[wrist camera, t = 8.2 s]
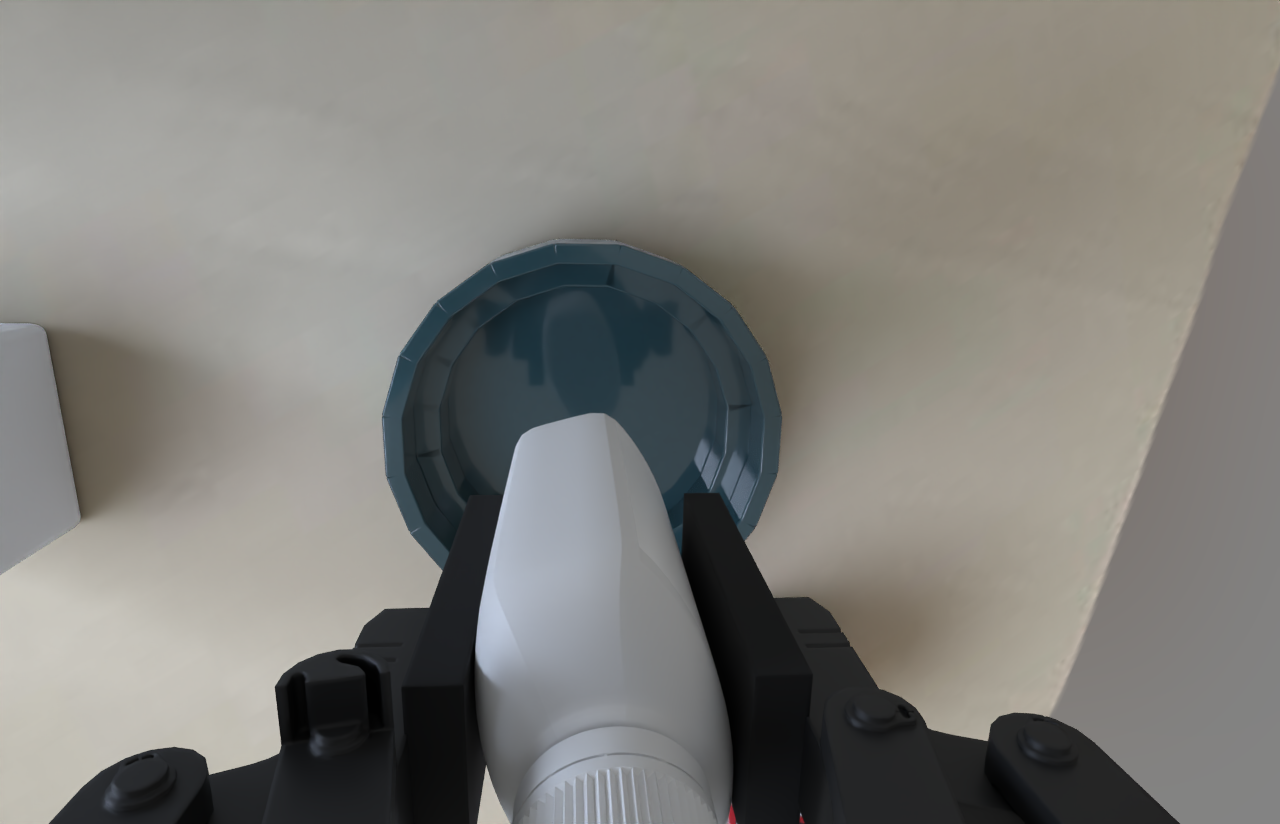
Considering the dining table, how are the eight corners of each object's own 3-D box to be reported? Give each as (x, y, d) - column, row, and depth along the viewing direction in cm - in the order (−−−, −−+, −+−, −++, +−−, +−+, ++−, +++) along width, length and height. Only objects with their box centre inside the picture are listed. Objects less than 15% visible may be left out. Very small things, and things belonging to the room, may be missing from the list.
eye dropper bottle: (716, 434, 17) (1008, 885, 6) (651, 647, 19) (782, 1368, 7) (529, 389, 17) (432, 794, 5) (475, 613, 18) (298, 1344, 6)
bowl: (400, 234, 25) (369, 239, 21) (762, 242, 26) (795, 247, 22) (419, 571, 28) (395, 628, 24) (741, 564, 29) (767, 618, 25)
